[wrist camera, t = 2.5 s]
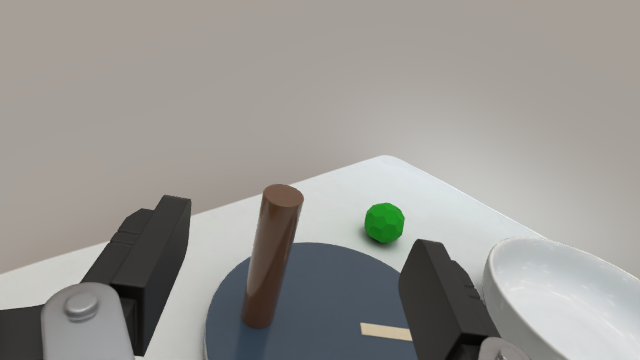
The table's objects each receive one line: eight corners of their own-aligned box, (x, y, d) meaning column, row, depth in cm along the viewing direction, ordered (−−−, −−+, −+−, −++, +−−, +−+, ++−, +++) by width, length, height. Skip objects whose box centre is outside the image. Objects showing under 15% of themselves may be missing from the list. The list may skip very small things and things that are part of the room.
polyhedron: (353, 235, 47) (363, 204, 45) (370, 220, 51) (380, 191, 49) (388, 256, 46) (401, 224, 43) (403, 239, 49) (415, 209, 47)
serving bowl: (596, 296, 48) (630, 255, 45) (753, 493, 30) (829, 448, 27) (441, 262, 47) (464, 217, 44) (507, 447, 29) (554, 393, 25)
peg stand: (419, 269, 44) (466, 169, 38) (505, 499, 25) (630, 376, 19) (230, 238, 41) (247, 124, 35) (163, 474, 22) (175, 316, 16)
